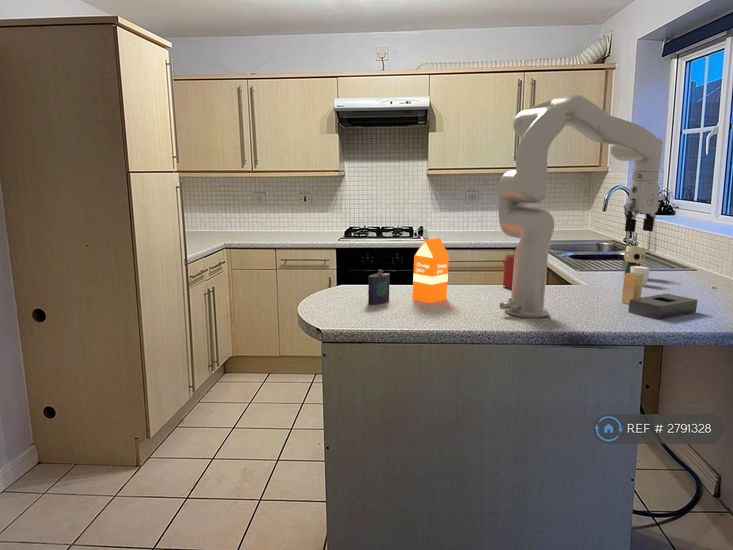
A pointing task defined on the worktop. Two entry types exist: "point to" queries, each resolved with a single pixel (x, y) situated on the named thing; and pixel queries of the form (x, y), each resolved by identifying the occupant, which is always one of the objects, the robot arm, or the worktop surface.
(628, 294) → the brass peg
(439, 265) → the orange juice
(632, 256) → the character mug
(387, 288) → the flask
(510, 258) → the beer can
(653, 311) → the grey slotted block
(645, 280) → the white cube
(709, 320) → the worktop surface
